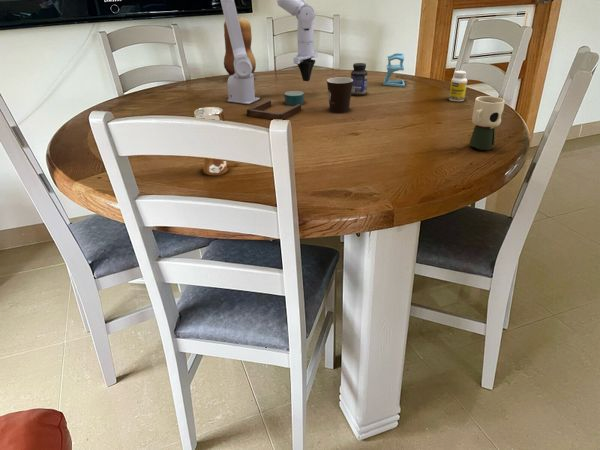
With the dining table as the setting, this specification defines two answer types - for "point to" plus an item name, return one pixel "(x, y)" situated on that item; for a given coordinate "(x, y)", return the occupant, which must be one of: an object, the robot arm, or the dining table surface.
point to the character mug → (486, 121)
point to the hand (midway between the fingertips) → (306, 80)
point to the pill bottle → (359, 79)
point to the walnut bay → (258, 112)
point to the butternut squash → (247, 40)
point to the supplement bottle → (458, 86)
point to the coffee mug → (339, 94)
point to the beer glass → (212, 165)
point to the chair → (394, 68)
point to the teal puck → (294, 98)
